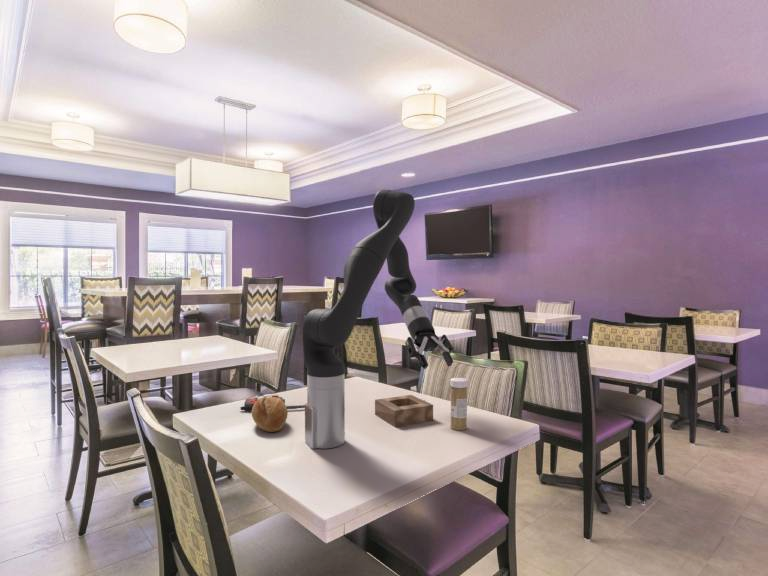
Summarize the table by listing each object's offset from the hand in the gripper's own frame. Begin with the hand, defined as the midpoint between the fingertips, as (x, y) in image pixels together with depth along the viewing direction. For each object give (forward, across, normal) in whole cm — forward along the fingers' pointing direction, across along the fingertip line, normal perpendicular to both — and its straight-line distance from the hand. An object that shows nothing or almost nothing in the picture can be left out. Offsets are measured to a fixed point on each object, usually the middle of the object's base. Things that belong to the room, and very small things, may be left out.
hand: (438, 366), depth 130 cm
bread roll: (0, -46, +22) cm, 51 cm away
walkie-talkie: (-11, -41, +34) cm, 54 cm away
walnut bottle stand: (+7, -9, +14) cm, 18 cm away
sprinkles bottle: (+18, 0, +4) cm, 18 cm away
